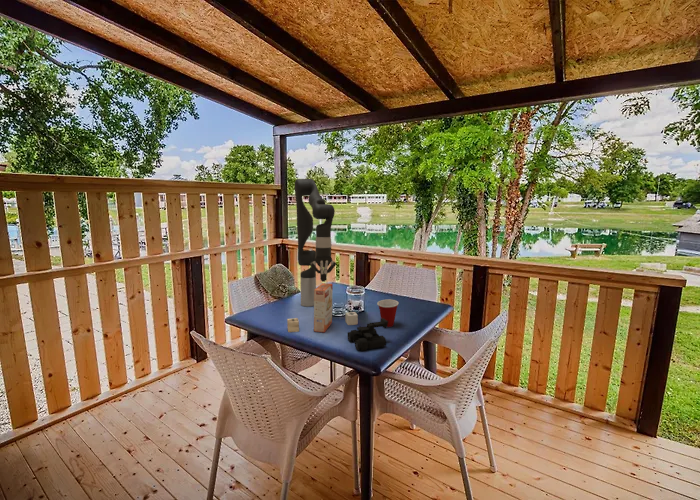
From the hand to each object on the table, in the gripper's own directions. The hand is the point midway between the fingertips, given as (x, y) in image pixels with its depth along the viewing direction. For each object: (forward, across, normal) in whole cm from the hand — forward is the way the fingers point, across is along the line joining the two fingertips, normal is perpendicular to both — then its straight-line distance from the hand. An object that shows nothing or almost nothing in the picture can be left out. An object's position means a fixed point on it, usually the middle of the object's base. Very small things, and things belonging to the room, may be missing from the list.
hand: (323, 281), depth 158 cm
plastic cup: (+24, -32, +5) cm, 40 cm away
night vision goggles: (+24, -16, +23) cm, 37 cm away
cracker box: (+24, 0, 0) cm, 24 cm away
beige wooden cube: (+23, -15, -2) cm, 28 cm away
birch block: (+24, +15, 0) cm, 28 cm away
